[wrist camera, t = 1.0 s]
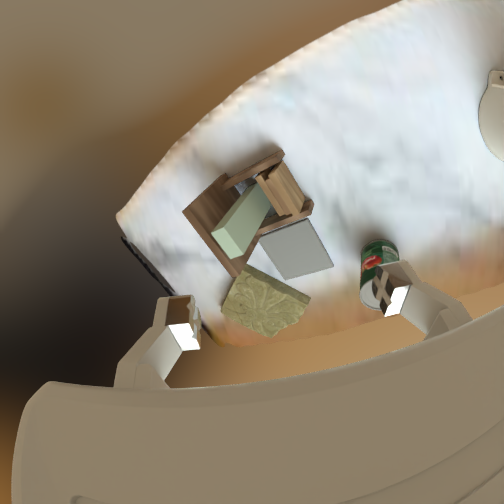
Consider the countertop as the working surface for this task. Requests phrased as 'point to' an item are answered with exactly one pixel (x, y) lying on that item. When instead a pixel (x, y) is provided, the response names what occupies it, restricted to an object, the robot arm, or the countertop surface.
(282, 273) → the grey mat
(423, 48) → the countertop surface
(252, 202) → the pale green block
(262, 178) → the offcut stack
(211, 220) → the walnut rack
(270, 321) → the decorative tile
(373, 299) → the canned tomato
